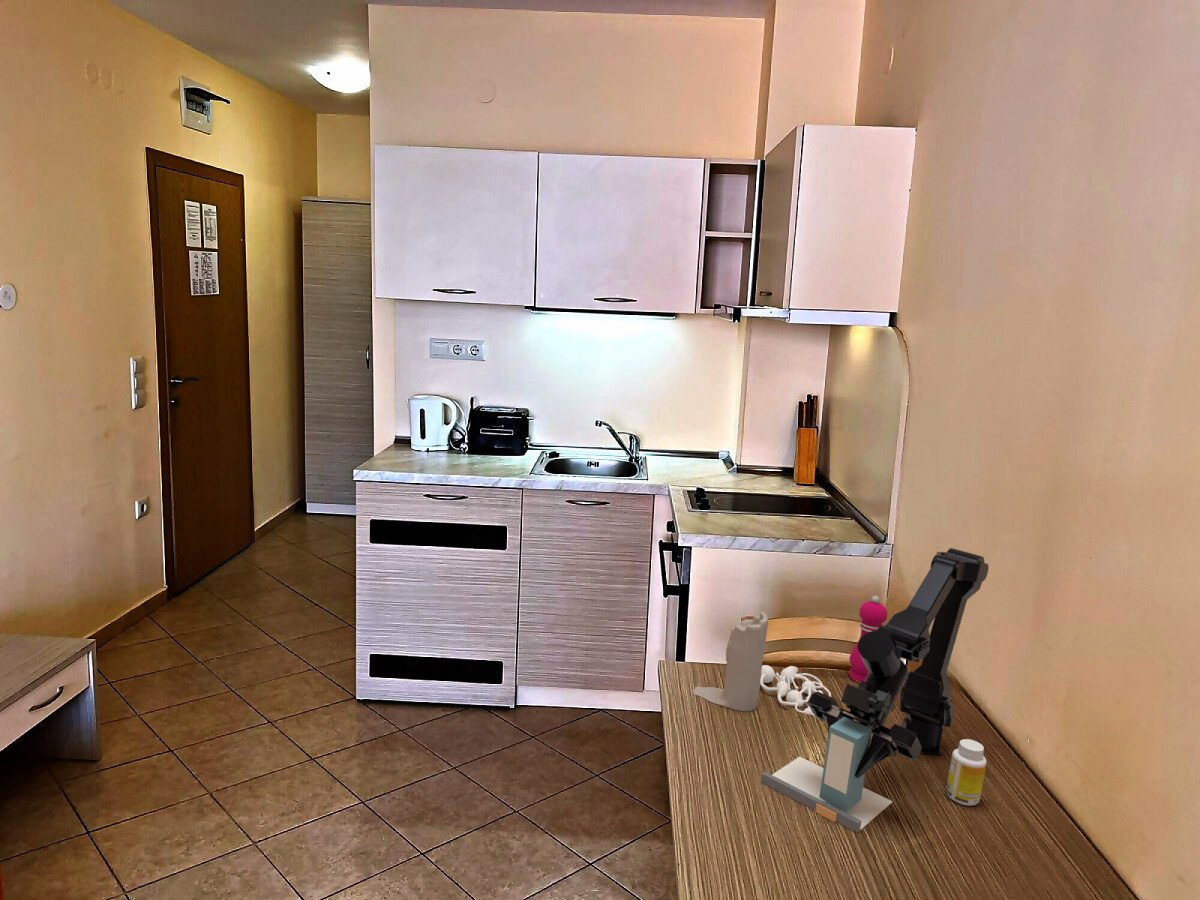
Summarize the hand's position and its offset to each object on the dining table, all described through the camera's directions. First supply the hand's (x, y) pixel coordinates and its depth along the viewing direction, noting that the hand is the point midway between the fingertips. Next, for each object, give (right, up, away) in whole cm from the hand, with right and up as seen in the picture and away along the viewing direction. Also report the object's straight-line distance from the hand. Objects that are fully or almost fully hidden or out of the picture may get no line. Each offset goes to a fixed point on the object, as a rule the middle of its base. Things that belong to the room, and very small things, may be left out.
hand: (841, 769), depth 142 cm
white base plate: (-1, -7, +6) cm, 10 cm away
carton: (0, -6, +2) cm, 6 cm away
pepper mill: (+20, 0, +55) cm, 59 cm away
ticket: (-3, -8, -1) cm, 9 cm away
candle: (-14, 0, +39) cm, 42 cm away
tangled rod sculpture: (+3, -1, +44) cm, 44 cm away
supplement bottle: (+24, -9, +10) cm, 28 cm away
